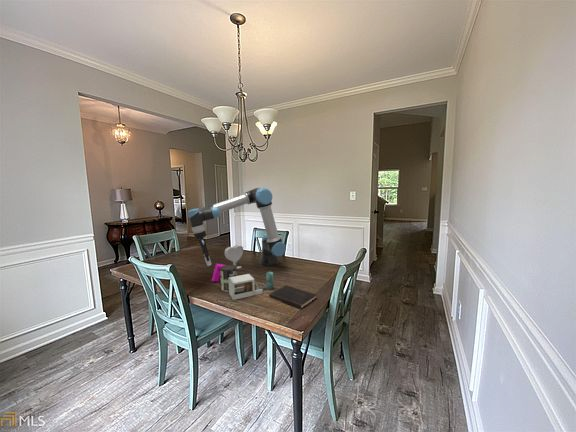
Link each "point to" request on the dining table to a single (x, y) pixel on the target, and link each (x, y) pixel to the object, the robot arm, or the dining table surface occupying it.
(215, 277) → the toy block
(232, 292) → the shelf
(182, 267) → the dining table surface
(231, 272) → the coffee can
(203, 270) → the dining table surface
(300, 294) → the hardcover book
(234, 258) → the heart sculpture
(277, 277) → the dining table surface
